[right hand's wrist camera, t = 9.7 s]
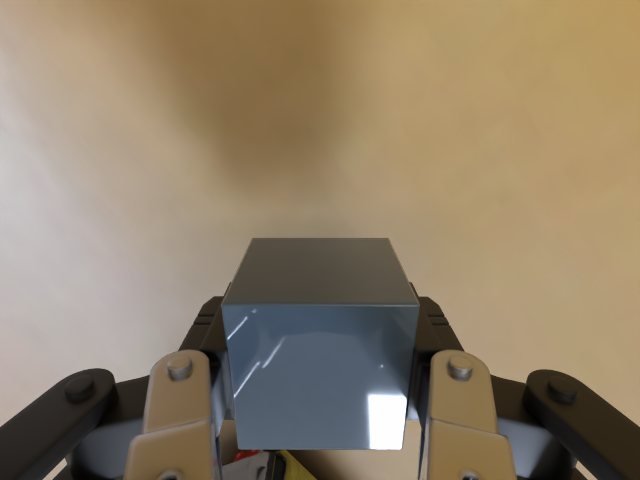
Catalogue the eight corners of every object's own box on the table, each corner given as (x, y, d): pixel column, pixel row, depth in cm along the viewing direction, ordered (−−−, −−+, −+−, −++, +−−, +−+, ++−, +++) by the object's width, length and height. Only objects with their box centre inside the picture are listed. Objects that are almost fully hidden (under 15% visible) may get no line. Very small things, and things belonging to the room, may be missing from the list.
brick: (380, 351, 14) (403, 450, 10) (260, 351, 14) (237, 450, 10) (388, 237, 12) (420, 304, 8) (251, 237, 12) (219, 303, 8)
